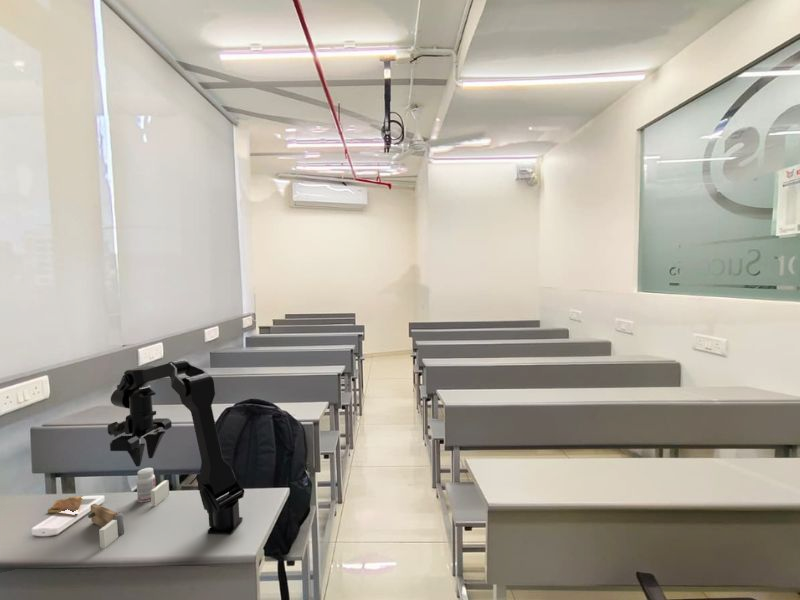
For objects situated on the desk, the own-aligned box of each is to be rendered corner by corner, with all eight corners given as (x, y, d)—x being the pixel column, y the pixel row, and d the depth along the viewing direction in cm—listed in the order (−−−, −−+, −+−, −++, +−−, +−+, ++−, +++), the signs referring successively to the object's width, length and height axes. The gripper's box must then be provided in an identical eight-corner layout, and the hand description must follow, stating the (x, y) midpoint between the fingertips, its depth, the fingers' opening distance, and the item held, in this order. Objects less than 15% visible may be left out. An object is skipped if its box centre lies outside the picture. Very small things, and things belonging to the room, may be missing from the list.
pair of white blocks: (170, 494, 125) (169, 478, 124) (106, 548, 100) (104, 528, 100) (164, 494, 125) (163, 478, 125) (99, 547, 100) (97, 527, 100)
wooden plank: (118, 529, 107) (117, 512, 107) (109, 534, 105) (107, 517, 105) (95, 520, 112) (94, 503, 112) (86, 524, 110) (85, 507, 110)
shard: (78, 517, 115) (78, 511, 115) (42, 526, 111) (42, 520, 111) (84, 499, 124) (83, 493, 124) (51, 507, 120) (50, 501, 120)
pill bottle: (158, 497, 123) (156, 470, 123) (140, 504, 120) (138, 476, 119) (153, 492, 127) (151, 465, 126) (135, 498, 123) (133, 471, 123)
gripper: (137, 400, 132) (141, 448, 133) (89, 421, 113) (93, 477, 114) (171, 400, 131) (174, 449, 132) (127, 421, 112) (131, 477, 113)
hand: (144, 462), depth 123 cm, fingers open, 5 cm apart
